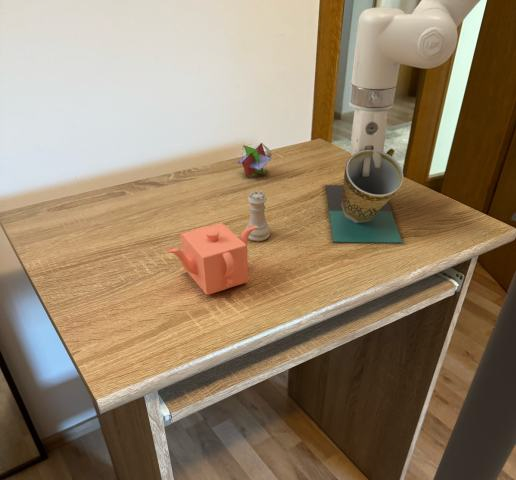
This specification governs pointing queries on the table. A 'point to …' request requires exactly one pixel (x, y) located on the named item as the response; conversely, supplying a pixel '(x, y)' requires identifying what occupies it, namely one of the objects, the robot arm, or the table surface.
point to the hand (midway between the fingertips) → (357, 197)
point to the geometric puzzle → (255, 159)
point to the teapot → (215, 257)
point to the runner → (366, 232)
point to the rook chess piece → (258, 217)
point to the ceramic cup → (369, 185)
